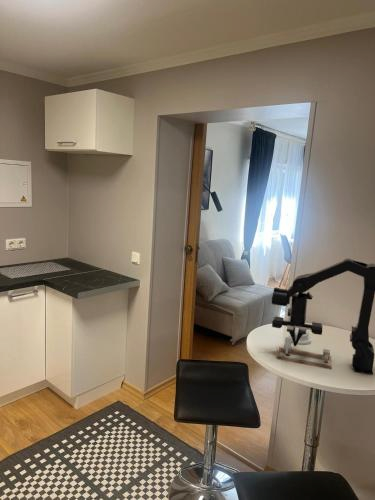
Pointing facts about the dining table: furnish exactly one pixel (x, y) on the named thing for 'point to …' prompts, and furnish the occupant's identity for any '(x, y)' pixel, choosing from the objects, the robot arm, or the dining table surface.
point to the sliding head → (287, 345)
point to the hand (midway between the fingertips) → (295, 345)
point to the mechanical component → (302, 338)
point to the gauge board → (306, 357)
